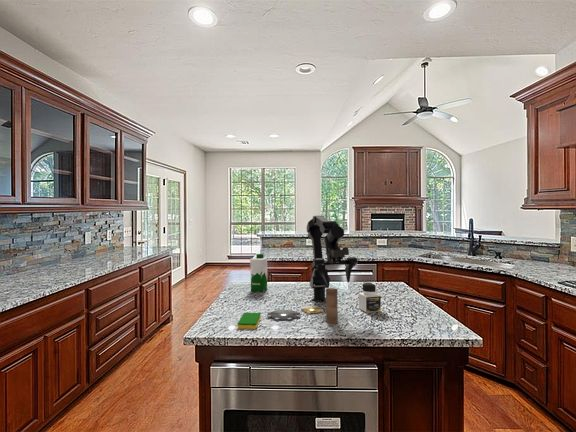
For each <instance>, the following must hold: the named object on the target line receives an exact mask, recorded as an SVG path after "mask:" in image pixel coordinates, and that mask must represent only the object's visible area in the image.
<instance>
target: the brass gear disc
mask: <svg viewBox="0 0 576 432" xmlns="http://www.w3.org/2000/svg"><path fill="white" fill-rule="evenodd" d="M301 311H303V312H304V313H305V314H307V315H311V314H313V315H315V314H316V315H317V314H320V313H321V314H322V313H324V312H325V310H324V309H322V308H321V307H319V306H317V305H314V306H306V307H301Z"/></svg>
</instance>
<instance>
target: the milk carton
mask: <svg viewBox="0 0 576 432" xmlns="http://www.w3.org/2000/svg"><path fill="white" fill-rule="evenodd" d="M249 263H250V291H251V292H256V291H261V292H260V293H264V292H265V291H266V290H268V257H265V256H264V253H256V256H255V257H252V258H250V259H249ZM264 290H265V291H264Z"/></svg>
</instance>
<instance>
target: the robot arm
mask: <svg viewBox="0 0 576 432" xmlns="http://www.w3.org/2000/svg"><path fill="white" fill-rule="evenodd" d="M306 232H307V236H308V238H309V239H310V240H311V245H312V255H313V261H312V263H311V267H312V269H313V271H312V273H311V278H310V282H309V287H310V288H311V289H312V290H313V298H312V299H311V301H314V302H322V303H323V302H326V289H327V288H330V282H331V281H330V280H331V278H330V276H329V271H328V269H327V268H326V266H343V265H344V267H345V268H344V270H345V271H344V272H345V277H346V281H347V283H350V281H351V280H350V279H351V274H352V269H353V268H355V267H356V266H357V265H358V264H359V261H358V258H357V257H356V256H352V257H351V256H349V255H350V254H349V253H350V250H349V247H348V246H346V247H342V249H341V247H340V244H339V242H340V241H341V240H342V238H343V237H344V235H345V230H344V228H343V227H342V226H340V224H339V223H338V222H337V221H336V220H330V219H329V220H328V219H327V218H325V217H324V215H313V216H312V218H311V219H310V220H309V221H308V222H307V224H306ZM323 234H324V235H325V237H324V238H323V240H324V241H323V242H324V245H325V246H324V247H325V255H326V258H327V260H325V259H324V258H323V257H324V256H323V249H322V240H321V239H322V237H323ZM346 256H349V257H347V258H345V257H346ZM344 258H345V259H344Z"/></svg>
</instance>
